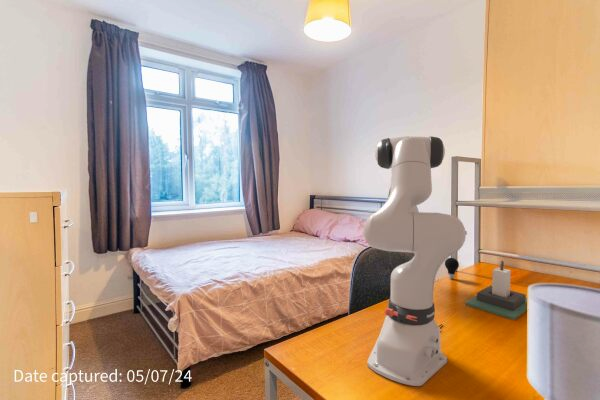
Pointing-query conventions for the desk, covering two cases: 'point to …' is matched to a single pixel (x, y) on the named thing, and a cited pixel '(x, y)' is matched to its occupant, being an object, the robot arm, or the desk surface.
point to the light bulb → (451, 266)
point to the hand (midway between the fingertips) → (460, 234)
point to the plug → (501, 281)
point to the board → (497, 309)
